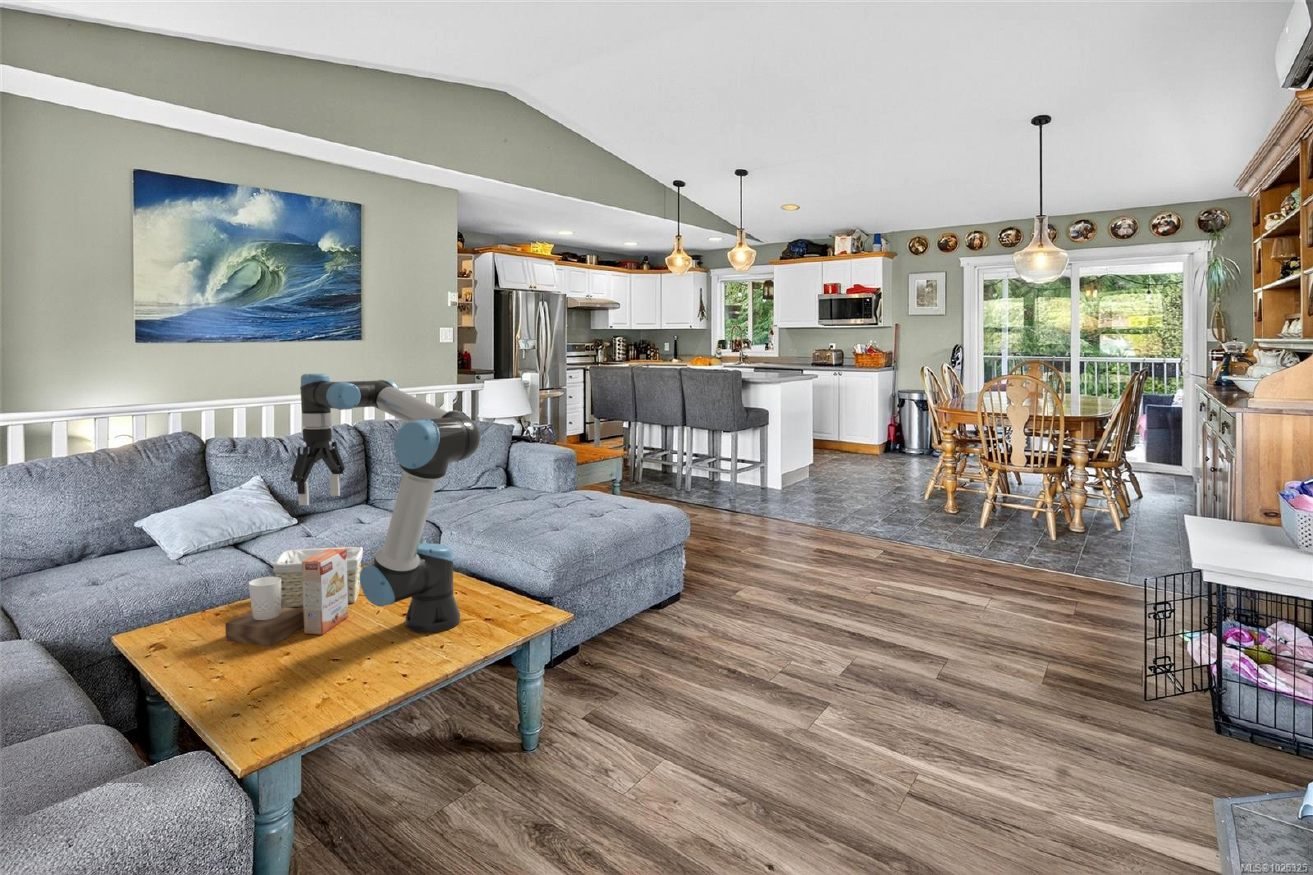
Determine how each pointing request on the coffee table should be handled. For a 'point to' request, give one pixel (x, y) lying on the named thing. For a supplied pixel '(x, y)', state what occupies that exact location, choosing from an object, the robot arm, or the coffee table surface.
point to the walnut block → (265, 627)
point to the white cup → (265, 597)
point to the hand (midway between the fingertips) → (320, 500)
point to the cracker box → (324, 590)
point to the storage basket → (291, 573)
